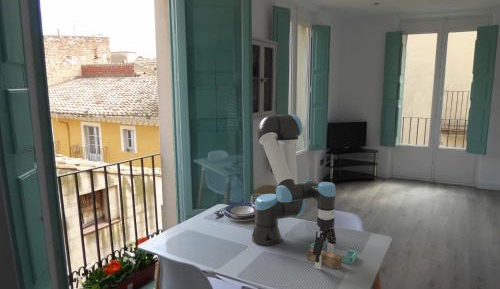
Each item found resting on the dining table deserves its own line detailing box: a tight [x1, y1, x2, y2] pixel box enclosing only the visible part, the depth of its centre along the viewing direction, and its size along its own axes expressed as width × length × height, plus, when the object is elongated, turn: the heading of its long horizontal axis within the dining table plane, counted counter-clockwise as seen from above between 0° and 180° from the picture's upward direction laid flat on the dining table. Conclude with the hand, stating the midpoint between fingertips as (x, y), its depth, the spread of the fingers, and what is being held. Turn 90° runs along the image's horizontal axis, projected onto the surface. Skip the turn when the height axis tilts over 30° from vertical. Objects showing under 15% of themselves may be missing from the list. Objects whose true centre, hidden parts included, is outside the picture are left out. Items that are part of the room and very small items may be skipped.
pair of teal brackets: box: [308, 241, 358, 265], centre depth 167 cm, size 21×8×3 cm, turn 54°
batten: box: [306, 247, 343, 270], centre depth 159 cm, size 15×4×5 cm, turn 54°
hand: (324, 262), depth 160 cm, fingers open, 12 cm apart
